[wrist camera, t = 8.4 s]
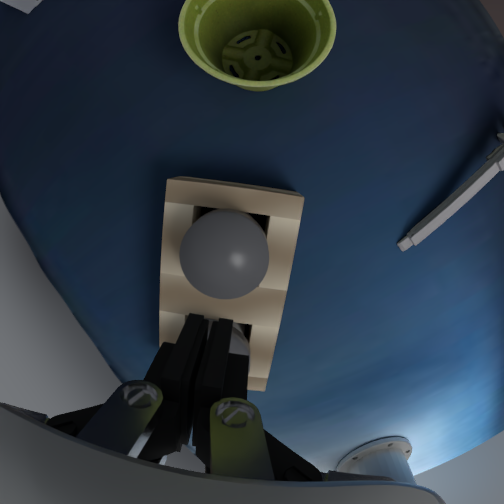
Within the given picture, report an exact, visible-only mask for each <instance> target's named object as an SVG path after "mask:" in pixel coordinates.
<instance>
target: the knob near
mask: <svg viewBox="0 0 504 504" xmlns="http://www.w3.org/2000/svg"><path fill="white" fill-rule="evenodd" d="M179 258H180V264H181V268H182V271H183V273H184V275H185V277H186V279H187V280H188V281H189V283H190V284H191V285H192V286H193V287H194V288H196V289H197V290H198V291H200V292H201V293H203V294H205V295H207V296H209V297H212V298H217V299H235V298H239V297H242V296H244V295H246V294H248V293H250V292H251V291H253V290H254V289H255V288H256V287H257V286H258V285H259V284H260V283H261V282H262V280H263V279H264V277H265V275H266V272H267V270H268V265H269V250H268V243H267V239H266V235H265V233H264V231H263V229H262V228H261V226H260V225H259V224H258V222H257V221H256V220H254V219H253V218H252V217H251V215H249V214H248V213H247V212H242V211H239V210H235V209H227V208H225V209H217V210H213V211H210V212H208V213H206V214H204V215H203V216H201V217H200V218H199V219H198V220H197V221H196V222H195V223H194V224H193V225H192V226H191V227H190V228H189V229H188V231H187V232H186V234H185V235H184V237H183V239H182V242H181V246H180V252H179Z"/></svg>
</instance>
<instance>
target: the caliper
mask: <svg viewBox="0 0 504 504" xmlns="http://www.w3.org/2000/svg"><path fill="white" fill-rule="evenodd" d="M497 137H498V138H499V140H500V142H501V143H502V145H500V146H498V147H497V148H496V149H494V150H493V151H492V153H491V154H489V155H488V156H487V157H486V159H487V162H486V163H485V164H484V165H483V166H482V167H481V168H480V169H478V170H477V171H476V172H475V173H474V174H473V175H472V176H471V177H470V178H469V179H468V180H467V181H466V182H465V183H463V184H462V185H461V186H460V187H459V188H458V189H457V190H456V191H455V192H453V193H452V194H451V195H450V196H449V197H448V198H447V199H446V200H444V201H443V202H442V203H441V204H440V205H439V206H437V207H436V208H435V209H434V210H433V211H432V212H430V213H429V214H428V215H427V216H426V217H424V218H423V219H422V220H421V221H420V222H418V223H417V224H416V225H415V226H414V227H413V228H412V229H411V230H410V231H409V232H408V233H407V236H405V237H404V238H403V239H402V240H400V241H399V242H398V243H397V245H398V246H399V248H400V249H401V250H402V251H404V250H407V249H408V248H409V247H410V246H412V245H413V244H414V245H415V246H416V245H417V244H418V243H420V242H421V241H422V240H423V239H424V238H426V237H427V236H428V235H429V234H431V233H432V232H433V231H434V230H435V229H436V228H438V227H439V226H440V225H441V224H442V223H444V222H445V221H446V220H447V219H448V218H449V217H450V216H452V215H453V214H454V213H455V212H456V211H457V210H458V209H460V208H461V207H462V206H463V205H464V204H465V203H466V202H467V201H468V200H469V199H471V198H472V197H473V196H474V195H475V194H476V193H477V192H478V191H479V190H480V189H481V188H482V187H483V186H484V185H485V184H486V183H488V182H489V181H490V180H491V179H492V178H493V177H494V176H495V175H496V174H497V173H498V172H499V171H503V170H504V133H498V134H497Z"/></svg>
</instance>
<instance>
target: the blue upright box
mask: <svg viewBox="0 0 504 504" xmlns="http://www.w3.org/2000/svg"><path fill="white" fill-rule="evenodd" d="M0 1H1V2H4V3H6V4H8V5H10V6H12V7H14V8H17V9H19V10H21V11H23V12H25V13H27V14H29V13H30V12H31V11H32V10H33V8H34V7H35V6H37V5H38V4H39V3H40V2H41V1H42V0H0Z"/></svg>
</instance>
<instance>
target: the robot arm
mask: <svg viewBox="0 0 504 504" xmlns="http://www.w3.org/2000/svg"><path fill="white" fill-rule="evenodd" d="M208 327H209V320H207V319H204V315H200V314H194V313H189V315H188V317H187V319H186V322H185V324H184V326H183V328H182V330H181V333H180V335H179V337H178V339H177V341H176V343H170V342H163V343H162V345H161V347H160V349H159V350H158V352H157V354H156V356H155V358H154V360H153V362H152V364H151V366H150V368H149V370H148V372H147V374H146V376H145V378H144V380H132V381H128V382H125V383H123V384H122V385H120V386H119V387H118V388H117V389H116V391H115V392H114V393H113V394H112V395H111V396H110V397H109V399H108V400H107V401H106V402H105V403H104V404H100V405H97V406H93V407H89V408H85V409H82V410H77V411H73V412H69V413H65V414H61V415H57V416H54V417H52V418H51V419H50V418H48V416H47V415H46V414H42V413H38V412H34V411H30V410H26V409H23V408H19V407H15V406H12V405H9V404H5V403H1V402H0V504H446V503H445V502H444V500H443V499H442V498H441V497H440V496H439V495H438V494H437V493H435V492H434V491H432V490H430V489H428V488H426V487H423V486H419V485H417V484H416V482H415V479H414V477H413V474H412V472H411V469H410V467H409V464H408V462H407V460H408V458H409V457H410V455H411V453H412V446H411V444H410V442H409V441H408V440H407V439H405V438H401V437H390V438H384V439H380V440H377V441H373V442H371V443H368V444H366V445H364V446H361V447H359V448H358V449H356V450H354V451H352V452H351V453H350V454H348V455H347V456H346V457H345V458H343V459H342V460H341V462H340V463H339V464H338V466H337V469H336V471H330V470H329V471H328V473H323V472H320V471H319V470H318V469H317V468H316V467H315V466H313V465H312V464H311V463H309V462H308V461H306V460H305V459H303V458H302V457H300V456H299V455H298V454H296V453H295V452H293V451H292V450H291V449H289V448H288V447H287V446H285V445H284V444H283V443H281V442H280V441H279V440H277V439H276V438H275V437H273V436H272V435H271V434H269V433H268V432H267V431H266V430H264V429H263V425H262V420H261V415H260V412H259V410H258V408H257V407H256V406H255V405H254V404H252V403H251V402H249V401H247V387H248V369H249V355H242V354H235V353H229V350H230V342H231V335H232V328H233V320H232V319H225V318H219V321H213V323H212V326H211V329H210V333H209V336H208ZM207 338H208V340H207ZM192 426H193V436H192V446H196V456H197V457H198V458H199V459H200V460H201V461H202V462H203V463H204V464H205V473H200V472H194V471H188V470H184V469H179V468H174V467H169V466H165V465H164V464H165V462H166V459H167V455H168V454H170V453H173V452H175V451H178V452H180V450H181V446H182V444H185V445H188V442H189V438H190V434H191V430H192Z"/></svg>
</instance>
